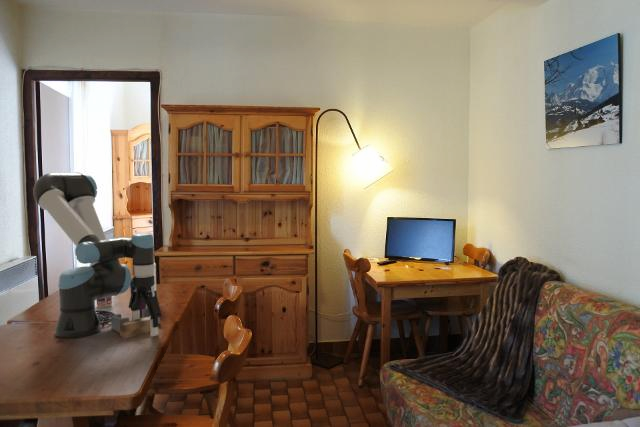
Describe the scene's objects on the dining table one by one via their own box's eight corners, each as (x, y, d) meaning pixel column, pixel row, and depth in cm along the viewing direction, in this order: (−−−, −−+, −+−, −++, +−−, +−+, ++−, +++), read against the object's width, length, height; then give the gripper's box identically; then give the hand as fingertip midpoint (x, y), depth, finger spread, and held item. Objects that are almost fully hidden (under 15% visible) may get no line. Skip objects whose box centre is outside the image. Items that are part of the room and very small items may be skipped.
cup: (142, 317, 203) (141, 281, 201) (127, 316, 204) (126, 280, 203) (151, 313, 209) (150, 278, 208) (136, 312, 211) (135, 277, 209)
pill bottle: (109, 303, 224) (108, 279, 223) (113, 306, 219) (113, 281, 218) (94, 305, 220) (94, 280, 219) (98, 308, 216) (98, 283, 215)
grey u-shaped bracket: (120, 326, 191) (120, 313, 191) (129, 330, 186) (129, 317, 186) (111, 328, 189) (111, 315, 188) (120, 333, 184) (120, 319, 183)
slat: (124, 338, 178) (124, 325, 178) (120, 336, 180) (119, 323, 180) (155, 331, 187) (155, 318, 186) (150, 329, 189) (150, 316, 189)
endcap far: (151, 325, 193) (151, 312, 192) (142, 321, 198) (142, 309, 197) (159, 323, 195) (159, 311, 195) (150, 319, 200) (150, 307, 200)
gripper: (170, 278, 178) (171, 336, 179) (136, 269, 195) (138, 322, 196) (151, 282, 172) (152, 341, 174) (118, 272, 189) (119, 326, 191)
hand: (145, 331), depth 185 cm, fingers open, 13 cm apart
